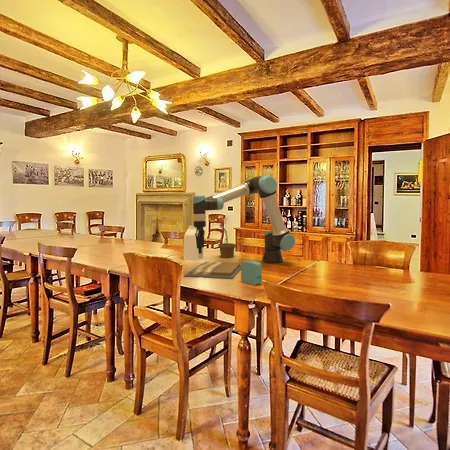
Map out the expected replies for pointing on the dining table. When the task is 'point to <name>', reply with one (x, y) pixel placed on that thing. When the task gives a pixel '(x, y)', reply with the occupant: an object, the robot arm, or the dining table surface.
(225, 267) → the floor frame
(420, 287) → the dining table surface
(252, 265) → the data package
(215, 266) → the plank
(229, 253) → the flowerpot
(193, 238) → the milk
